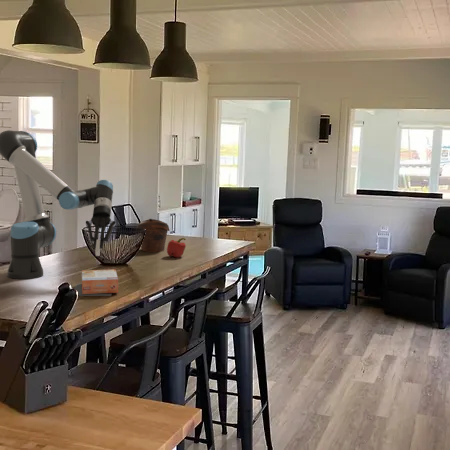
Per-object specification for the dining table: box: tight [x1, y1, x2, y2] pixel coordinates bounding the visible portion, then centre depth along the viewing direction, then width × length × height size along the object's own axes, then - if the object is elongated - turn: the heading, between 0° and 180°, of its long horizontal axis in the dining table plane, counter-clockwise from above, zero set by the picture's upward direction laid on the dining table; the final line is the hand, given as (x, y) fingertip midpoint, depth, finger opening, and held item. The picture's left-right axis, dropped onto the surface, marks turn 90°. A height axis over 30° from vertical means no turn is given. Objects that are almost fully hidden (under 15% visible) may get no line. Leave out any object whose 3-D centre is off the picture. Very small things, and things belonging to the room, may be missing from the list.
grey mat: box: [73, 283, 113, 297], centre depth 253 cm, size 16×20×1 cm
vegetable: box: [166, 237, 187, 259], centre depth 334 cm, size 11×10×10 cm
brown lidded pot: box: [136, 218, 170, 253], centre depth 355 cm, size 18×20×18 cm
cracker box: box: [81, 268, 119, 294], centre depth 253 cm, size 14×6×21 cm
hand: (97, 254), depth 261 cm, fingers closed
